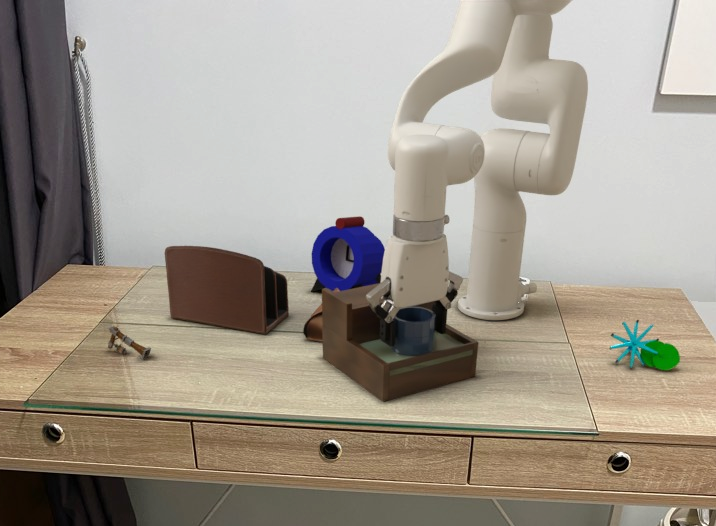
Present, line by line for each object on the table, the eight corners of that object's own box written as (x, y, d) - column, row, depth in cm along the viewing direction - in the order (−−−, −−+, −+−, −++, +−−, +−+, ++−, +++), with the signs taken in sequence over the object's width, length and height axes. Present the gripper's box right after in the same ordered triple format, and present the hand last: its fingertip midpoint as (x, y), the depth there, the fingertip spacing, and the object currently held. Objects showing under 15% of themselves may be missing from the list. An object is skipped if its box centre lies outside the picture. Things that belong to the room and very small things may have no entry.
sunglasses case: (349, 342, 151) (330, 308, 148) (316, 357, 154) (297, 325, 151) (373, 306, 165) (356, 275, 162) (343, 321, 168) (326, 290, 166)
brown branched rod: (107, 342, 149) (112, 321, 146) (145, 367, 149) (151, 346, 146) (101, 346, 148) (106, 324, 145) (139, 371, 147) (145, 350, 144)
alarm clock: (308, 292, 172) (306, 215, 163) (344, 276, 180) (344, 201, 172) (359, 306, 167) (359, 226, 158) (393, 288, 175) (396, 211, 166)
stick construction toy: (602, 353, 144) (623, 310, 143) (596, 361, 151) (616, 320, 150) (669, 383, 142) (691, 340, 142) (660, 390, 149) (681, 348, 149)
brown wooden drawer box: (322, 357, 147) (321, 288, 140) (410, 336, 155) (413, 270, 148) (382, 401, 134) (385, 328, 127) (475, 376, 141) (482, 305, 134)
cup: (417, 336, 142) (419, 303, 139) (441, 350, 138) (444, 317, 134) (383, 344, 139) (383, 311, 136) (406, 359, 135) (408, 325, 131)
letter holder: (265, 335, 154) (261, 256, 146) (169, 319, 160) (160, 242, 152) (289, 316, 162) (286, 240, 154) (197, 301, 168) (189, 227, 160)
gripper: (450, 213, 134) (443, 319, 144) (355, 229, 126) (354, 340, 137) (480, 225, 129) (470, 334, 139) (382, 243, 121) (380, 357, 131)
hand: (413, 337), depth 138 cm, fingers open, 9 cm apart
